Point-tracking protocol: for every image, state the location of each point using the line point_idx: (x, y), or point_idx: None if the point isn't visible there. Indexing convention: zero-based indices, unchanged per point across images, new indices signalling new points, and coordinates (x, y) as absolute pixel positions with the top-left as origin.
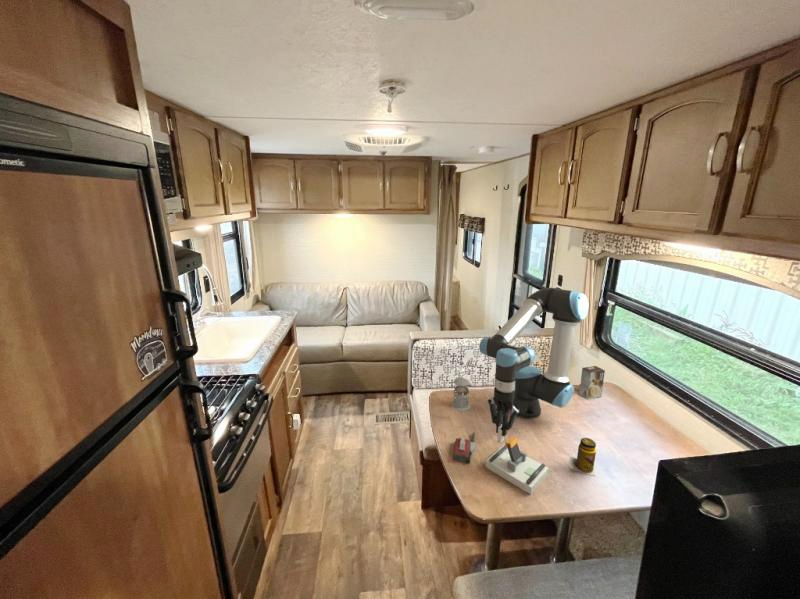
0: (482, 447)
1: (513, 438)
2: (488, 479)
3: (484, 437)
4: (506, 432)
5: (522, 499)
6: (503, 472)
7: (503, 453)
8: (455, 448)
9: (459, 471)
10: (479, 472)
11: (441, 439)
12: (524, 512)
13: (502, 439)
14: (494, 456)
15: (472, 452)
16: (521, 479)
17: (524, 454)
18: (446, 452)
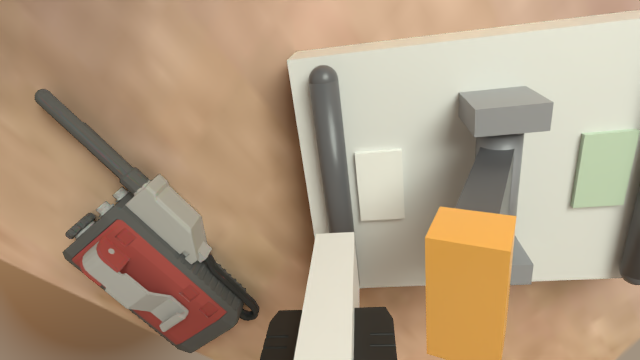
0: (190, 146)
1: (483, 284)
2: (394, 309)
3: (107, 45)
4: (394, 342)
5: (595, 296)
6: None
7: (356, 164)
8: (142, 318)
9: None
10: None
11: (25, 269)
12: (631, 344)
13: (357, 282)
14: None
15: (202, 239)
16: (576, 266)
17: (538, 124)
18: (131, 315)
